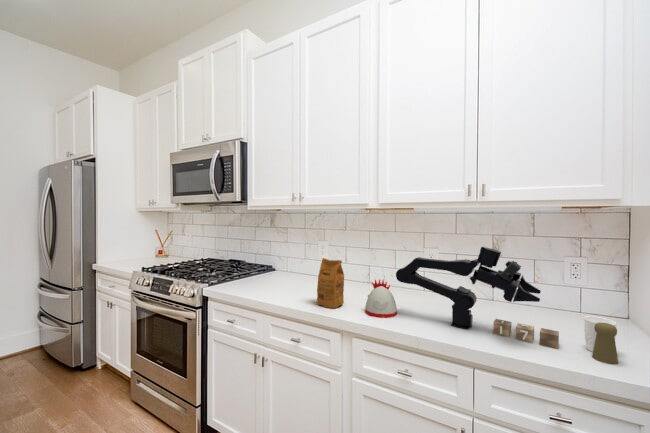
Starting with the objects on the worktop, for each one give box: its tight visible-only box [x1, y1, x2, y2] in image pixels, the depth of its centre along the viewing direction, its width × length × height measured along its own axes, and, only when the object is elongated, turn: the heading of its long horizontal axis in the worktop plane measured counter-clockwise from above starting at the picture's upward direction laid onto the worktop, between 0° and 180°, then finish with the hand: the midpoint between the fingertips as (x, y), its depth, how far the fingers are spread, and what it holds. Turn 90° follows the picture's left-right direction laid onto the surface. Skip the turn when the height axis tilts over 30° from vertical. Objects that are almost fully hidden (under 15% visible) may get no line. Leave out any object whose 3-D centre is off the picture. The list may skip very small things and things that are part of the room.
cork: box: [591, 322, 619, 365], centre depth 94 cm, size 6×6×11 cm
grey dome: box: [364, 278, 398, 319], centre depth 137 cm, size 14×14×15 cm
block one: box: [492, 318, 512, 338], centre depth 114 cm, size 5×5×5 cm
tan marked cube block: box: [514, 322, 535, 344], centre depth 109 cm, size 5×5×5 cm
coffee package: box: [316, 257, 345, 309], centre depth 147 cm, size 10×12×22 cm
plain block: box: [539, 327, 560, 350], centre depth 105 cm, size 5×5×4 cm
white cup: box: [583, 315, 617, 353], centre depth 101 cm, size 8×8×10 cm
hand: (540, 296), depth 107 cm, fingers open, 9 cm apart
